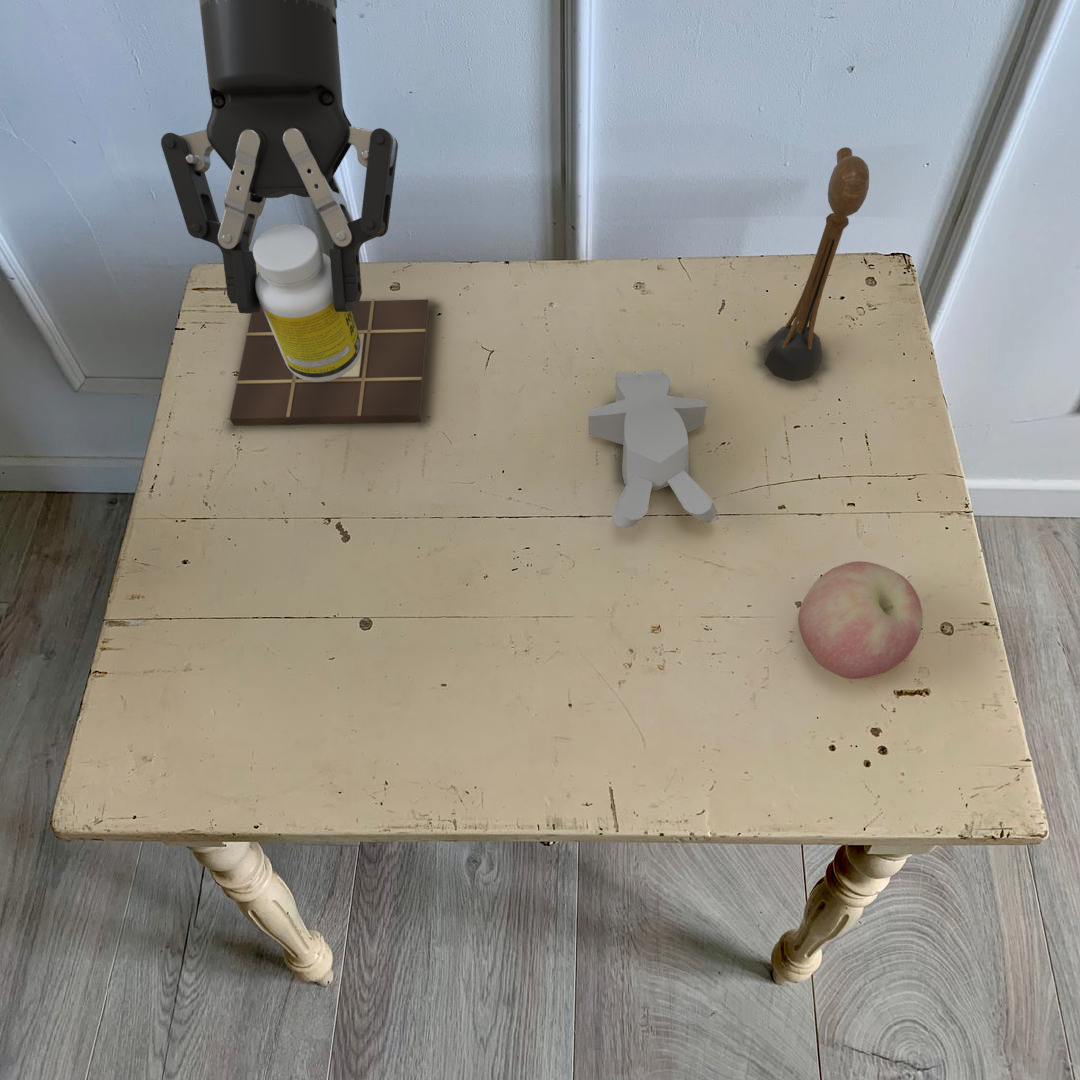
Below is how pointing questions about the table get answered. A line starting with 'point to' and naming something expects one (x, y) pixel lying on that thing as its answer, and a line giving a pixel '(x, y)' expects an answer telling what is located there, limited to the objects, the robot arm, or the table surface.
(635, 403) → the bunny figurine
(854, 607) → the apple
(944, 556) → the table surface
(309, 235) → the supplement bottle
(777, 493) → the table surface
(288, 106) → the robot arm
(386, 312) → the board
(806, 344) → the wooden tabletop sculpture
